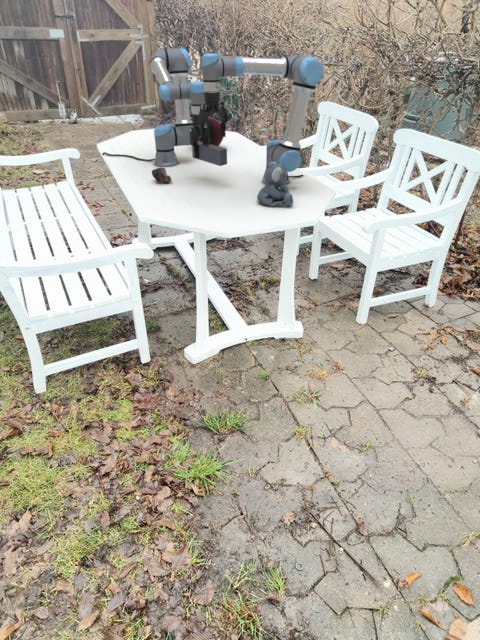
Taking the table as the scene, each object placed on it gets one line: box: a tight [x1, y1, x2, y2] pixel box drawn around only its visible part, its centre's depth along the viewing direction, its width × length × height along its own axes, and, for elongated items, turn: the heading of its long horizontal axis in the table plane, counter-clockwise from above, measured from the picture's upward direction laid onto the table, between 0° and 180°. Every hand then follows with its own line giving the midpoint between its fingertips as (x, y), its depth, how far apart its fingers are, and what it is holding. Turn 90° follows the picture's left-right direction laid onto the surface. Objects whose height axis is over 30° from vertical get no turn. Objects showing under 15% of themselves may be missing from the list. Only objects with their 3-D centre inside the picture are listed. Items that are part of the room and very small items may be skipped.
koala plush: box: [256, 162, 294, 208], centre depth 228 cm, size 17×18×20 cm
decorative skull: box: [198, 117, 224, 147], centre depth 320 cm, size 21×24×25 cm
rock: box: [151, 166, 172, 183], centre depth 260 cm, size 12×9×10 cm
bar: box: [191, 141, 228, 167], centre depth 253 cm, size 24×5×8 cm, turn 45°
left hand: (200, 156), depth 259 cm, fingers closed on bar, 5 cm apart
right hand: (213, 139), depth 224 cm, fingers open, 13 cm apart
